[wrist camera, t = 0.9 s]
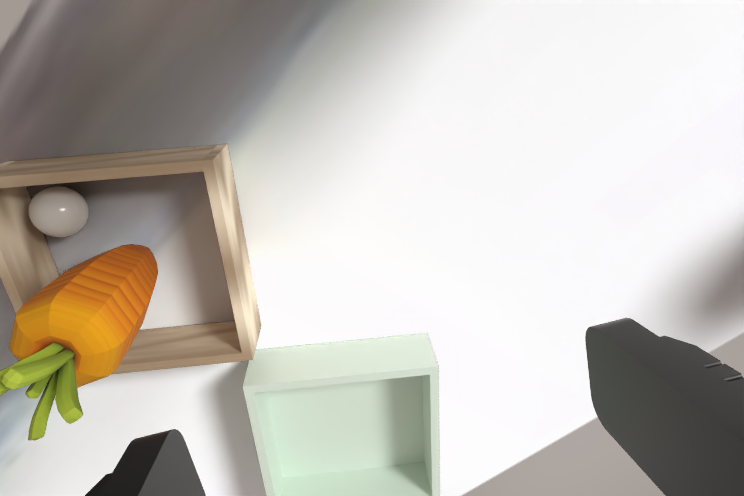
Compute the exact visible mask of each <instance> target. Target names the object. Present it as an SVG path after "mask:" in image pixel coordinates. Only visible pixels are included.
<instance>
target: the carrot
mask: <svg viewBox="0 0 744 496" xmlns="http://www.w3.org/2000/svg"><path fill="white" fill-rule="evenodd" d="M157 275H158V269H157V262H156V260H155V258H154V256H153V254H152V252H151V250H150V249H149V248H147V247H144V246H141V245H134V244H130V245H122V246H120V247H117V248H114V249H112V250H109V251H107V252H104V253H102V254H100V255H97V256H95V257H93V258H91V259H89V260H86V261H84V262H82V263H80V264H79V265H77V266H75V267H73V268H71V269H69V270H67V271H66V272H64V273H63V274H62V275H60V276H59V277H58V278H56V279H55V280H54V281H52V282H51V283H50V284H48V285H47V286H46V287H44V288H43V289H42V290H41V291H40V292H38V293H37V294H36V295H35V296H33V297H32V298H31V299H30V300H29V301H27V302H26V303H25V304H24V305H22V307H21V308H20V309H19V310H18V312H17V314H16V317H15V321H14V326H13V331H12V336H11V341H10V346H9V349H10V351H11V352H12V353H13V354H14V356H15V357H16V358H17V359H18V360H19V362H18V363H16V364H14V365H12V366H10V367H8V368H5V369H3V370H0V396H1V395H2V394H4V393H5V392H7V391H8V390H9V389H18V388H21V387H24V386H27V385H30V384H31V385H30V387H29V388H28V390H27V391H26V393H25V394H26V395H27V396H28V398H37V397H38V396H40V394H41V393H42V391H43V389H44V388H45V389H44V392H43V394H42V396H41V398H40V401H39V403H38V405H37V407H36V410H35V412H34V415H33V417H32V420H31V425H30V429H29V437H28V440H37V439H39V438H42V437H43V436H44V434H45V430H46V425H47V420H48V416H49V413H50V410H51V407H52V404H53V401H54V398H55V395H56V399H55V400H56V404H57V408H58V411H59V413H60V414H61V416H62V417H63V419H64V420H65V421H66V422H68V423H69V424H71V423H73V422H75V421H77V420H78V419H79V418H80V417H81V416H83V412H82V409H81V406H80V403H79V400H78V391H77V387H80V386H83V385H86V384H88V383H91V382H94V381H96V380H99V379H102V378H104V377H107V376H109V375H110V374H112V373H113V372H114V371H115V370H116V369H117V368H118V366H119V365H120V363H121V361H122V359H123V358H124V356H125V354H126V353H127V351H128V349H129V348H130V346H131V344H132V342H133V340H134V338H135V337H136V335H137V333H138V331H139V329H140V327H141V325H142V323H143V320H144V317H145V314H146V311H147V308H148V305H149V302H150V299H151V296H152V293H153V290H154V286H155V283H156V279H157ZM46 384H47V385H46ZM45 386H46V387H45Z"/></svg>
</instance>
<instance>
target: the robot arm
mask: <svg viewBox="0 0 744 496" xmlns="http://www.w3.org/2000/svg"><path fill="white" fill-rule="evenodd" d="M585 338H586V350H587V359H588V369H589V379H590V389H591V397H592V402H593V405H594V408H595V411H596V414H597V416H598V418H599V420H600V421H601V423H602V425H603V426H604V428H605V429H606V430H607V431H608V432H609V434H610V435H611V436H612V437H613V438H614V439H615V440H616V441H617V442H618V444H619V445H620V446H621V447H622V448H623V449H624V450H625V451H626V452H627V453H628V455H629V456H630V457H631V458H632V459H633V460H634V461H635V462H636V463H637V465H638V466H639V467H640V468H641V469H642V470H643V471H644V472H645V473H646V474H647V475H648V477H649V478H650V479H651V480H652V481H653V482H654V483H655V484H656V485H657V486H658V488H659V489H660V490H661V491H662V492H663V493H664V494H665V495H666V496H744V378H743V377H742V375H741V373H739V372H738V371H736V370H734V369H733V368H731V367H729V366H728V365H726V364H723V365H722V364H721V362H720V360H718V359H717V358H715V357H713V356H712V355H710V354H708V353H707V352H705V351H704V350H702V349H700V348H699V347H697V346H695V345H692V344H689V343H686V342H683V341H679V340H676V339H673V338H670V337H667V336H662V337H658V336H657V335H655V334H654V333H652V332H651V331H649V330H648V329H646V328H645V327H643V326H642V325H640V324H639V323H637V322H636V321H634V320H632V319H630V318H624V319H620V320H616V321H612V322H608V323H604V324H600V325H596V326H592V327H589V328H588V329H587V331H586V337H585ZM85 496H206V495H205V492H204V489H203V487H202V484H201V482H200V479H199V477H198V474H197V471H196V469H195V466H194V464H193V461H192V458H191V456H190V453H189V451H188V448H187V446H186V443H185V440H184V438H183V436H182V434H181V433H180V432H179V431H178V430H176V429H173V430H169V431H165V432H161V433H157V434H153V435H149V436H145V437H141V438H137V439H134V440H133V441H131V443H130V444H129V446H128V447H127V449H126V451H125V452H124V454H123V456H122V457H121V459H120V461H119V462H118V464H117V466H116V468H115V469H114V471H113V473H110V474H106V475H105V476H104V477H103V478H102V479H101V480H100V481H99V482H98V483H97V484H96V485H95V486H94V487H93V488H92V489H91V490H90V491H89V492H88V493H87V494H86V495H85Z"/></svg>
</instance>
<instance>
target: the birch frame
mask: <svg viewBox="0 0 744 496" xmlns="http://www.w3.org/2000/svg"><path fill="white" fill-rule="evenodd" d="M192 172H204V176H205V180H206V185H207V190H208V195H209V199H210V204H211V209H212V214H213V218H214V223H215V228H216V233H217V237H218V242H219V247H220V252H221V256H222V261H223V266H224V271H225V275H226V280H227V285H228V290H229V294H230V299H231V304H232V309H233V313H234V318H235V321H229V322H218V323H208V324H198V325H187V326H177V327H166V328H156V329H145V330H139V331H138V333H137V335H136V337H135V338H134V340H133V342H132V344H131V346H130V348H129V349H128V351H127V353H126V354H125V356H124V358H123V359H122V361H121V363H120V365H119V366H118V368H117V369H116V370H115V371H114V372H113V373H112V374H118V373H128V372H138V371H148V370H158V369H168V368H178V367H188V366H198V365H208V364H218V363H228V362H238V361H248V360H253V358H254V354H255V349H256V345H257V341H258V337H259V333H260V329H261V322H260V317H259V311H258V306H257V300H256V295H255V290H254V284H253V279H252V274H251V268H250V263H249V257H248V252H247V247H246V241H245V236H244V230H243V225H242V220H241V214H240V209H239V203H238V198H237V193H236V187H235V182H234V177H233V171H232V166H231V160H230V155H229V150H228V144H222V145H209V146H196V147H184V148H171V149H159V150H146V151H133V152H121V153H108V154H96V155H83V156H70V157H58V158H45V159H33V160H20V161H7V162H4V163H1V164H0V277H1V280H2V282H3V285H4V287H5V289H6V292H7V294H8V296H9V299H10V301H11V303H12V306H13V308H14V310H15V313H16V314H17V312H18V310H19V309H20V308H21V307H22V305H24V304H25V303H26V302H27V301H29V300H30V299H31V298H32V297H33V296H35V295H36V294H37V293H38V292H40V291H41V290H42V289H43V288H44V287H46V286H47V285H48V284H50V283H51V282H52V281H54V280H55V279H56V278H58V277H59V274H58V271H57V269H56V266H55V263H54V260H53V258H52V255H51V252H50V250H49V247H48V244H47V241H46V239H45V236H44V233H43V232H41V231H39V230H38V229H37V228H36V227H35V226H34V225H33V223H32V222H31V220H30V217H29V205H30V202H31V198H30V195H29V193H28V190H27V187H26V186H33V185H46V184H58V183H70V182H82V181H95V180H107V179H119V178H131V177H144V176H156V175H168V174H180V173H192Z"/></svg>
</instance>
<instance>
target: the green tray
mask: <svg viewBox="0 0 744 496" xmlns="http://www.w3.org/2000/svg"><path fill="white" fill-rule="evenodd" d="M243 391H244V395H245V400H246V404H247V409H248V414H249V418H250V423H251V427H252V432H253V437H254V441H255V446H256V450H257V455H258V460H259V464H260V469H261V473H262V478H263V483H264V487H265V492H266V496H440V441H439V366H438V362H437V359H436V356H435V353H434V350H433V347H432V344H431V341H430V338H429V335H428V333H420V334H410V335H400V336H390V337H380V338H370V339H360V340H350V341H339V342H329V343H319V344H309V345H299V346H289V347H279V348H269V349H258V350H255V354H254V358H253V360H249V363H248V367H247V371H246V375H245V379H244V383H243Z"/></svg>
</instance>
